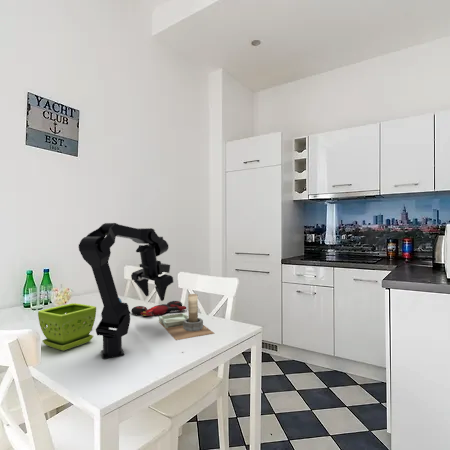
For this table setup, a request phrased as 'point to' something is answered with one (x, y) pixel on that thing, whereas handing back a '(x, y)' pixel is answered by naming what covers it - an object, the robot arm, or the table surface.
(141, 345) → the table surface
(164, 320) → the stand
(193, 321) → the dowel
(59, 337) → the flower pot
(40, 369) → the table surface
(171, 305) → the toy motorcycle
